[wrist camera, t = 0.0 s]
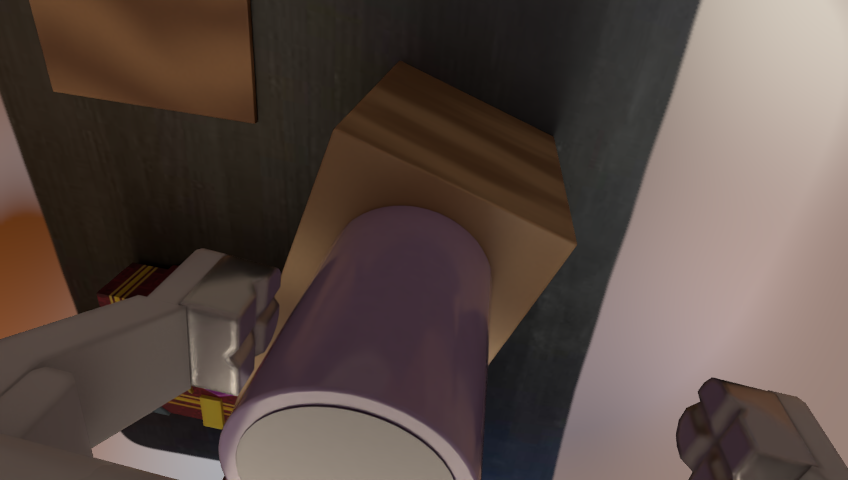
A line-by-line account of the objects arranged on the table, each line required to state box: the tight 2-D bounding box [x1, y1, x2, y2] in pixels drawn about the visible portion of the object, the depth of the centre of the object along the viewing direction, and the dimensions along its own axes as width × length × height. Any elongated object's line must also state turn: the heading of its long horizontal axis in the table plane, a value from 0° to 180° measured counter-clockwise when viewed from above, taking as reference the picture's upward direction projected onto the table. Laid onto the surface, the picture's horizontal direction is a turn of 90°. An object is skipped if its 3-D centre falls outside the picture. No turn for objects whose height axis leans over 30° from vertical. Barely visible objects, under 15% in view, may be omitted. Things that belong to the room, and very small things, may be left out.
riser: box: [233, 61, 577, 409], centre depth 27 cm, size 17×10×12 cm, turn 156°
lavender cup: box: [219, 206, 493, 480], centre depth 16 cm, size 7×7×9 cm
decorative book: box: [97, 263, 238, 429], centre depth 38 cm, size 11×16×5 cm
